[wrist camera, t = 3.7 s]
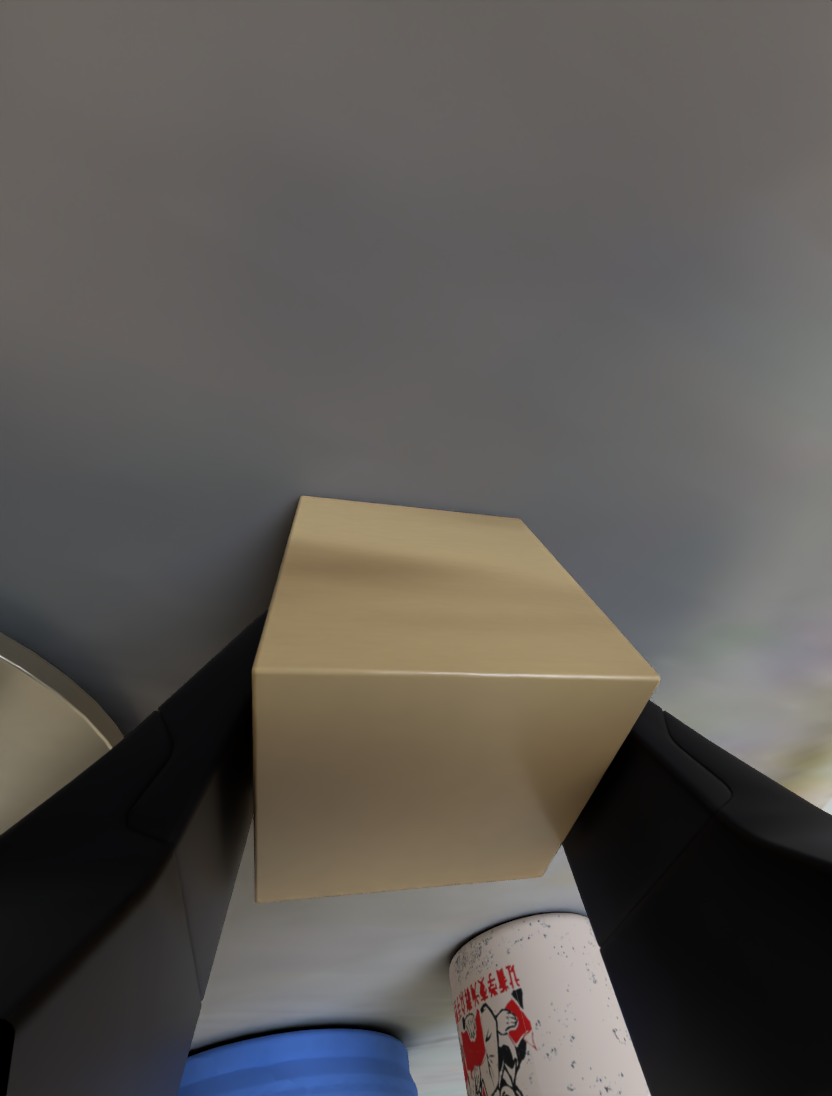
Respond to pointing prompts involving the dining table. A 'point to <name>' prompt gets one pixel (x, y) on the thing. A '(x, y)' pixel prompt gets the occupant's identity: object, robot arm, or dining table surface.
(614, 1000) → the teacup with lid
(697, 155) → the dining table surface
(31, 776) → the lid
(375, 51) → the dining table surface
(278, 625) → the cube
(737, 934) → the robot arm
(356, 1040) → the bowl
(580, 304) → the dining table surface
